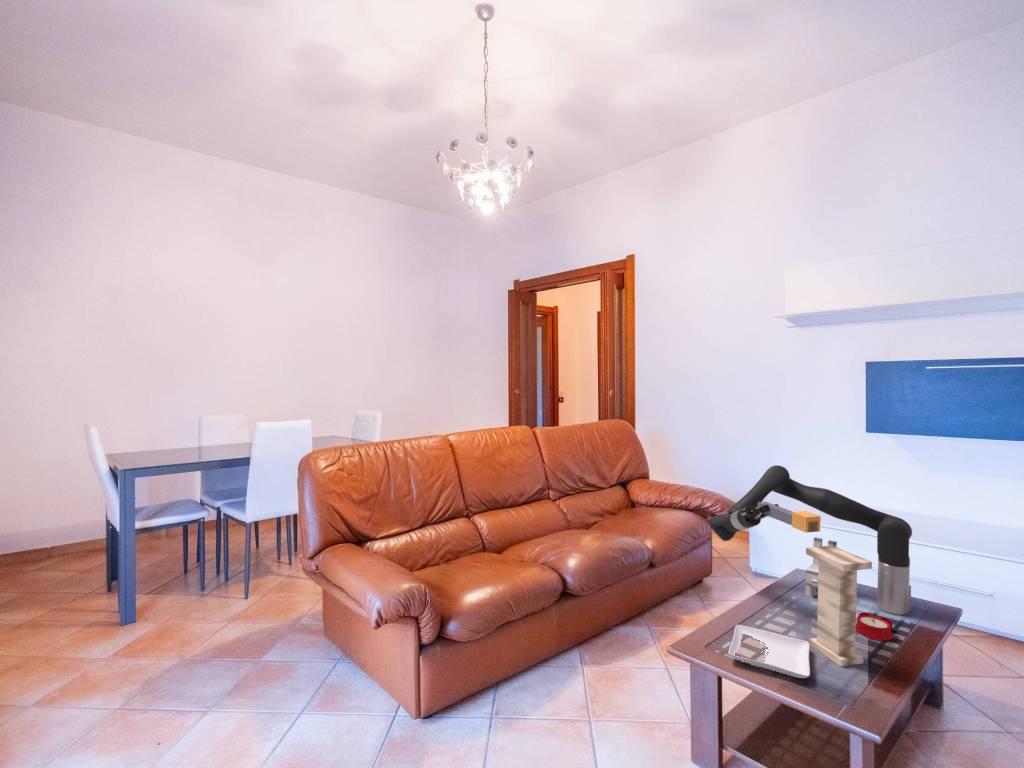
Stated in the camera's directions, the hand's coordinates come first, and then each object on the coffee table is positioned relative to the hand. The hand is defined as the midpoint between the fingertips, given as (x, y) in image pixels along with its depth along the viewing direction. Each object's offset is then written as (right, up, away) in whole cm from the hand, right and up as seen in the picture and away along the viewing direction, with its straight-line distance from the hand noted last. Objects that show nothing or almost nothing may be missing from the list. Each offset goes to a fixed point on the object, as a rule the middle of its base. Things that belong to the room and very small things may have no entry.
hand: (773, 507), depth 182 cm
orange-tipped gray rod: (+1, -3, -6) cm, 7 cm away
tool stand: (+6, -39, -26) cm, 47 cm away
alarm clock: (+28, -39, -12) cm, 49 cm away
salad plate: (-15, -40, -27) cm, 51 cm away
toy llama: (+27, -38, +16) cm, 49 cm away
